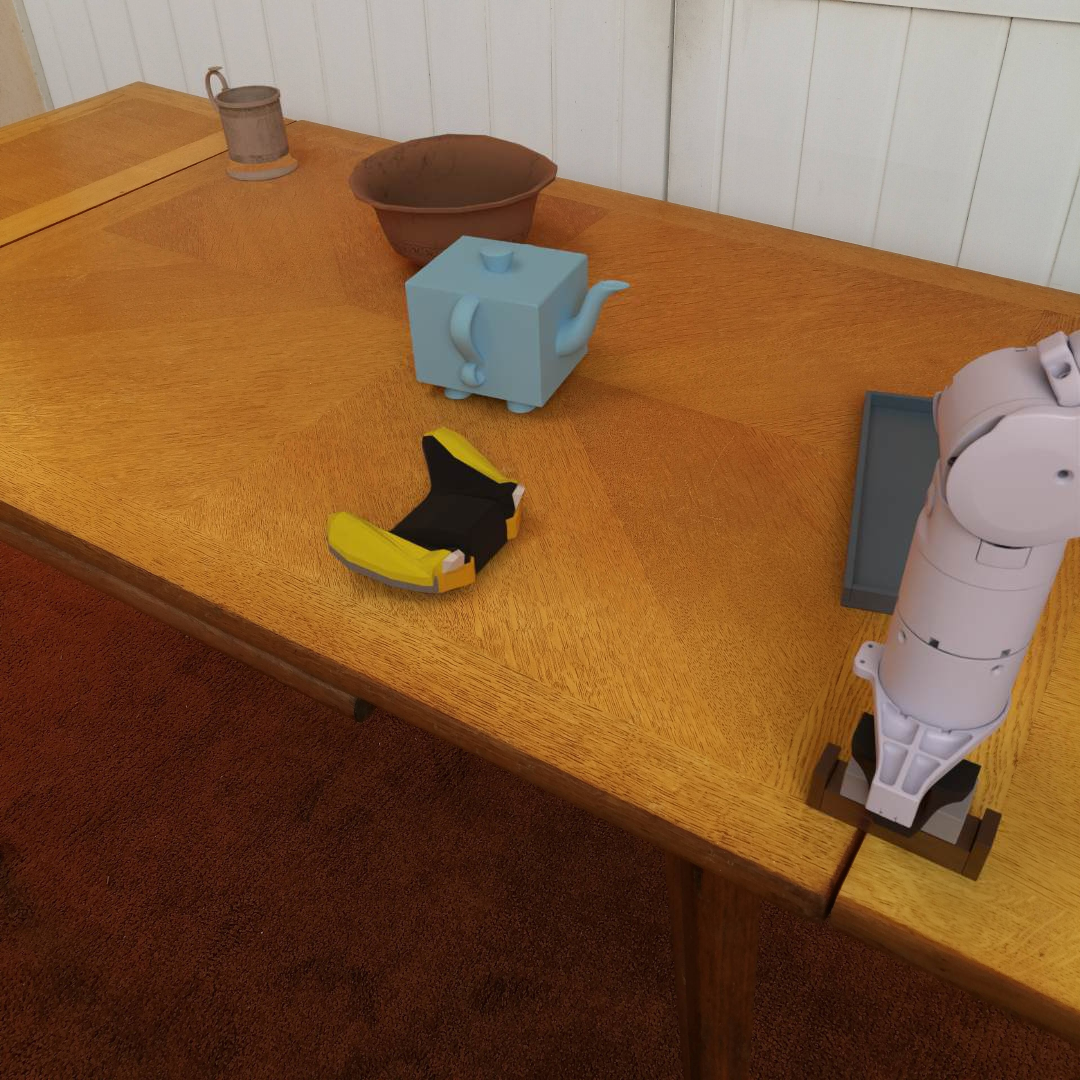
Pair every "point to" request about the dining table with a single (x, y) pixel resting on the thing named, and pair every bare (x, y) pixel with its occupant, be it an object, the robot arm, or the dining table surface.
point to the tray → (887, 496)
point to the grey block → (940, 824)
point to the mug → (251, 126)
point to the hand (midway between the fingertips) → (903, 800)
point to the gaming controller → (436, 523)
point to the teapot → (503, 319)
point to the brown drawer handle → (956, 857)
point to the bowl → (452, 191)
